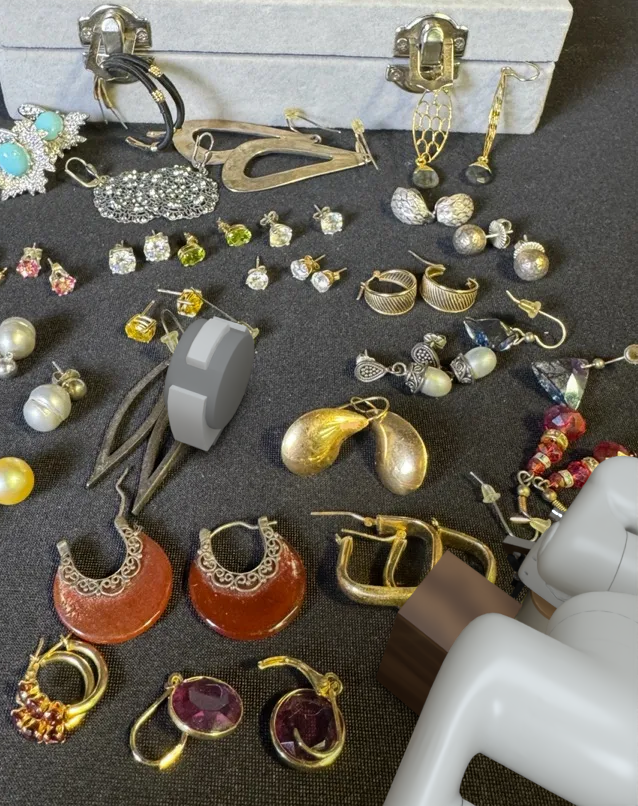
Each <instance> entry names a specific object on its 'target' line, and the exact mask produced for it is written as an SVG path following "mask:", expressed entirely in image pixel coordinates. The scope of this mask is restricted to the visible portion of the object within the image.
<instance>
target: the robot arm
mask: <svg viewBox="0 0 638 806" xmlns="http://www.w3.org/2000/svg"><path fill="white" fill-rule="evenodd" d="M547 517H548V519H550V520H552V522H553V523H552V524H550V525H549V527H548V528H547V529H545V531H544V532H543V533H542V534H541V535H540V536H539V538H538V539H537V540H536V541H534V540H529V539H525V538H521V537H518V536H513V535H508V534H507V535H506V536H505V538H504V539H503V540H502V541H501V542H500V543H501V546H502V548H503V550H504V553H505V554H506V555H507V556H506V560H507V562H508V564H509V566H510V567H511V569H512V571H513V572H512V574H511V575H512V578H513V579H512V580H511V582H510V586H512V587H513V590H512V592H511V593H510V594H509V595H510V596H511V597H512V598H514V599H517V598H518V597H519V595H520V594H521V592H522V591H523V589H524V588H525V586H526V587H527V588H530V589H531V590H533V591H534V592H535V593H537V594H538V595H539V596H541V597H542V598H543V599H545V600H546V601H548V602H549V603H550V604H552V605H553V606H554V607H556V608H557V609H556V610H555V612H554V613H553V615H552V616H551V618H550V620H549V623H548V625H547V630H546V634H543V633H541V632H539V631H537V630H535V629H533V628H531V627H529V626H527V625H525V624H523V623H521V622H519V621H517V620H515V619H513V618H510V617H507V616H505V615H502V614H498V613H487V614H484V615H481V616H479V617H477V618H475V619H474V620H473V621H471V622H470V623H469V624H468V625H467V626H466V627H465V628H464V629H463V631H462V632H461V633H460V635H459V636H458V637H457V639H456V640H455V642H454V643H453V645H452V647H451V648H450V650H449V652H448V654H447V656H446V658H445V659H444V661H443V663H442V666H441V668H440V670H439V672H438V674H437V677H436V679H435V681H434V683H433V685H432V688H431V690H430V692H429V695H428V697H427V700H426V702H425V704H424V707H423V709H422V712H421V714H420V716H418V719H417V722H416V724H415V727H414V729H413V732H412V735H411V737H410V739H409V742H408V744H407V747H406V748H405V752H404V754H403V756H402V759H401V761H400V764H399V766H398V768H397V770H396V773H395V776H394V778H393V781H392V783H391V785H390V788H389V790H388V792H387V795H386V797H385V800H384V802H383V804H382V806H476V805H475V804H473V803H471V802H470V801H469V800H466V799H464V798H463V797H462V795H461V793H460V788H461V783H462V780H463V777H464V775H465V772H466V771H467V768H468V765H469V764H470V762H471V760H472V759H473V758H474V757H475V756H476V755H477V754H481V755H484V757H485V756H486V757H487V758H489V759H491V760H492V761H495V762H496V763H498V764H500V765H502V766H504V767H505V768H507V769H509V770H511V771H513V772H514V773H516V774H518V775H520V776H522V777H523V778H526V779H527V780H529V781H531V783H535V784H536V785H538V786H540V787H542V788H543V789H545V790H546V791H549V792H551V793H552V794H554V795H556V796H558V797H560V798H562V799H564V800H566V801H567V802H569V803H571V804H573V805H575V806H638V457H634V456H629V455H616V456H612V457H608V458H606V459H604V460H602V461H601V462H599V463H598V464H597V465H596V466H595V467H594V468H593V470H592V472H591V473H590V474H589V476H588V478H587V480H586V482H585V483H584V484H583V486H582V488H581V489H580V490H579V492H578V493H577V495H576V496H575V498H574V499H573V501H572V502H571V504H570V505H569V506H568V508H567V509H566V511H564V510H563V509H561V510H560V509H559V508H557V507H556V506H554V507H553V509H552V510H551V511H550V513H549V515H548V516H547Z"/></svg>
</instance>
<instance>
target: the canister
mask: <svg viewBox="0 0 638 806" xmlns="http://www.w3.org/2000/svg"><path fill="white" fill-rule="evenodd" d="M519 603H521V604H522V605H523V606H522V608H521V609H520V611H519V612H518V614H517V616H516V617H515V620H517V621H519V622H521V623H523V624H525V625H527V626H529V627H531V628H533V629H535V630H537V631H539V632H541V633H543V634H546V630H547V625H548V623H549V620H550V618H551V616H552V615H553V613H554V612H555V610H556V609H557V608H556V607H554V606H553V605H552V604H550V603H549V602H548V601H546V600H545V599H543V598H542V597H541V596H539V595H538V594H537V593H535V592H534V591H533V590H531V589H530V588H529V587H527V590H526V592H525V594H524V595H523V597H522V598H521V600H520V602H519Z"/></svg>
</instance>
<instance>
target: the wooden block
mask: <svg viewBox="0 0 638 806" xmlns="http://www.w3.org/2000/svg"><path fill="white" fill-rule="evenodd" d="M510 595H511V594H508V593H507V592H506V591H505V590H503V589H502V588H501V587H499V586H497V585H496V584H495V583H494V582H492V581H491V580H489V579H488V578H486V577H485V576H484V575H483V574H481V573H480V572H478V571H477V570H476V569H474V568H473V567H471V566H470V565H469V564H468V563H466V562H465V561H463V560H462V559H460V558H459V557H458V556H456V555H455V554H454V553H452V552H451V551H450V550H448V549H446V550H445V552H444V553H443V554H442V555H441V557H440V558H439V560H437V562H436V563H435V564H434V565H433V566H432V568H431V570H430V571H429V572H428V574H426V575H425V577H424V578H423V580H421V581H420V583H419V584H418V585H417V587H416V588H415V590H414V591H413V592H412V593H411V594H410V595H409V597H408V598H407V600H406V601H405V602H404V604H403V605H402V606H401V607H400V608H399V610H398V611H397V614H396V616H395V619H394V621H393V624H392V628H391V631H390V634H389V637H388V640H387V642H386V645H385V649H384V652H383V655H382V659H381V661H380V664H379V667H378V670H377V672H376V676H375V680H376V681H377V682H378V683H380V684H381V685H382V686H383V687H384V688H385V689H386V690H388V691H389V692H390V693H391V694H392V695H394V696H395V697H396V698H397V699H398V700H400V701H401V702H402V703H403V704H404V705H405V706H406V707H408V708H409V709H410V710H411V711H412V712H413V713H414V714H415V715H417V716H418V717H420V714H421V712H422V709H423V707H424V704H425V702H426V700H427V697H428V695H429V692H430V690H431V688H432V685H433V683H434V681H435V679H436V677H437V674H438V672H439V670H440V668H441V666H442V663H443V661H444V659H445V658H446V656H447V654H448V652H449V650H450V648H451V647H452V645H453V643H454V642H455V640H456V639H457V637H458V636H459V635H460V633H461V632H462V631H463V629H464V628H465V627H466V626H467V625H468V624H469V623H470V622H471V621H473V620H474V619H475V618H477V617H479V616H481V615H484V614H487V613H498V614H502V615H505V616H507V617H510V618H513V619H515V617H516V616H517V614H518V612H519V611H520V609H521V608H522V606H523V605H522V604H521V603H520V602H519V601H518V600H517V599H516V598H512V597H511V596H510Z"/></svg>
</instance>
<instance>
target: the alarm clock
mask: <svg viewBox="0 0 638 806" xmlns="http://www.w3.org/2000/svg"><path fill="white" fill-rule="evenodd" d="M254 358H255V339H254V337H253V335H252V334H251V333H250V330H249V328H248V326H246V325H243V324H240V323H237V322H234V321H231V320H227V319H225V318H222V317H218V316H215V315H213V317H212V318H209V319H206V318H203V317H202V318H199V319H196V320H193V321H192V322H191V324H189V325H188V326H187V328H186V329H185V330H184V332H183V333H182V334H181V337H180V339H179V340H178V342H177V344H176V345H175V348H174V351H173V353H172V354H171V358H170V362H169V364H168V367H167V371H166V375H165V380H164V385H163V386H164V387H163V403H164V406H165V409H166V411H167V415H168V421H169V426H170V430H171V433H172V436H173V438H174V440H175V441H177V442H181V443H183V444H185V445H189V446H192V447H194V448H197V449H200V450H203V451H205V452H208V451H209V450H210V448H211V447H212V446H215V445H216V443H217V441H218V440H219V438H220V436H221V435H222V432H223V431H224V428H225V427H226V426H227V425H228V423H230V421H231V420H232V419H233V418H234V415H235V414H236V412H237V410H238V408H239V406H240V404H241V402H242V400H243V398H244V395H245V392H246V390H247V387H248V384H249V382H250V377H251V374H252V370H253V365H254Z"/></svg>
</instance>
